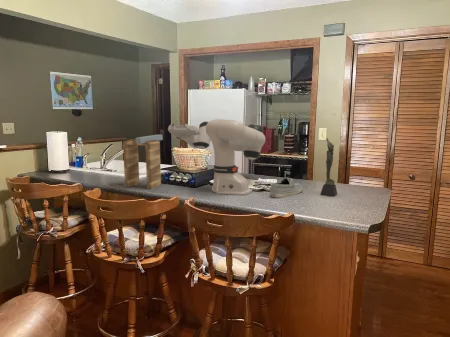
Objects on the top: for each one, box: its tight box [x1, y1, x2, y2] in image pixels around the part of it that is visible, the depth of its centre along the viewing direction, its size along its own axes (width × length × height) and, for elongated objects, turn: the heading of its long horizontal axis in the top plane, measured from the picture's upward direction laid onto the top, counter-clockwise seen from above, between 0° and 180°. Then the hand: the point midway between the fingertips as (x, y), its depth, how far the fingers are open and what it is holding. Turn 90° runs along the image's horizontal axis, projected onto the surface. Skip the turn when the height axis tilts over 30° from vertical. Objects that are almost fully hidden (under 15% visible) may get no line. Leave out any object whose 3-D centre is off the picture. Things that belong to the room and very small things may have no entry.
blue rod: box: [135, 134, 164, 144], centre depth 207 cm, size 3×23×3 cm, turn 158°
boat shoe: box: [269, 176, 303, 199], centre depth 192 cm, size 9×25×9 cm, turn 141°
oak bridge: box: [122, 138, 162, 190], centre depth 208 cm, size 18×10×27 cm, turn 69°
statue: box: [320, 137, 338, 198], centre depth 189 cm, size 7×8×30 cm
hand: (178, 124), depth 228 cm, fingers open, 8 cm apart
